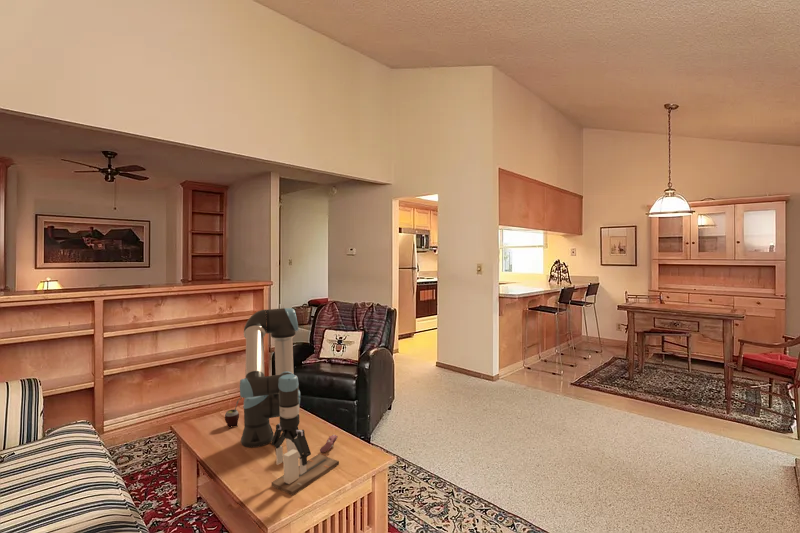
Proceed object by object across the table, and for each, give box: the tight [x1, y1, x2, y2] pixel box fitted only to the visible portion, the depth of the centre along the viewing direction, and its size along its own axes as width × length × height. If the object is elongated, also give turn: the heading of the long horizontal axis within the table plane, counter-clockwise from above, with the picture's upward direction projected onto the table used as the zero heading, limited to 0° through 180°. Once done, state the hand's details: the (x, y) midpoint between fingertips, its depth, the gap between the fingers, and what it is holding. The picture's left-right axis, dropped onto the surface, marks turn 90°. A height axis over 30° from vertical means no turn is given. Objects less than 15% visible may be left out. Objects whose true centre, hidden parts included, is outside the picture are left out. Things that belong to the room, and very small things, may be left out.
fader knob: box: [282, 449, 300, 484], centre depth 160 cm, size 3×5×11 cm, turn 146°
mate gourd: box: [224, 396, 242, 428], centre depth 216 cm, size 8×8×15 cm
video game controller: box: [319, 433, 338, 454], centre depth 189 cm, size 10×5×7 cm, turn 169°
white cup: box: [285, 436, 301, 458], centre depth 183 cm, size 8×8×10 cm
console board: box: [271, 453, 340, 497], centre depth 166 cm, size 12×26×2 cm, turn 146°
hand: (291, 467), depth 160 cm, fingers open, 13 cm apart
